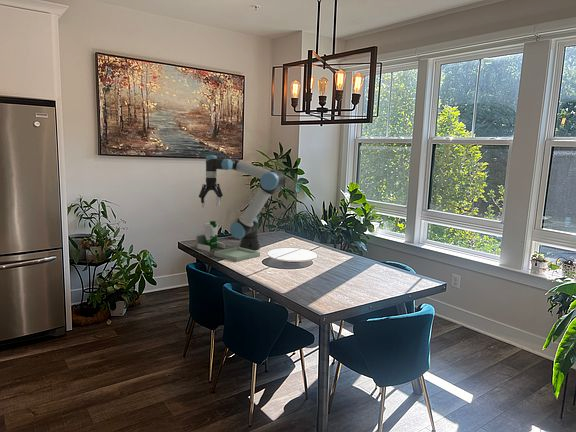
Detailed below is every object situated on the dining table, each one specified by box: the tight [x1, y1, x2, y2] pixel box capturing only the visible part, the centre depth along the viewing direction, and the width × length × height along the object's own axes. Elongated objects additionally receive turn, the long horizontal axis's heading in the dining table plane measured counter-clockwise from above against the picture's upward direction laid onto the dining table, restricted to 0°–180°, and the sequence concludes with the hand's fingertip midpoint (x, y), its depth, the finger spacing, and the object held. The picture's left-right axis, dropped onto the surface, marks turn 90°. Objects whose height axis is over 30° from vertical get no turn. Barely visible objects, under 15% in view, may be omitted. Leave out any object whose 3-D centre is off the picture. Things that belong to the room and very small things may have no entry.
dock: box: [195, 234, 226, 252], centre depth 306 cm, size 14×15×9 cm
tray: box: [213, 246, 261, 263], centre depth 286 cm, size 22×22×3 cm
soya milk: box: [203, 220, 219, 250], centre depth 305 cm, size 9×9×20 cm
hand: (210, 206), depth 302 cm, fingers open, 13 cm apart
